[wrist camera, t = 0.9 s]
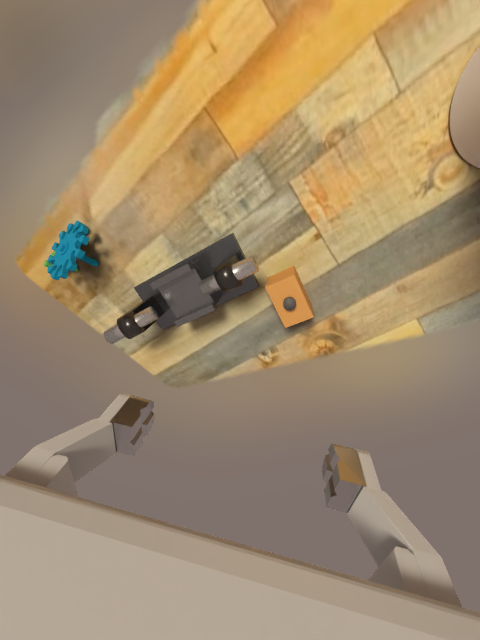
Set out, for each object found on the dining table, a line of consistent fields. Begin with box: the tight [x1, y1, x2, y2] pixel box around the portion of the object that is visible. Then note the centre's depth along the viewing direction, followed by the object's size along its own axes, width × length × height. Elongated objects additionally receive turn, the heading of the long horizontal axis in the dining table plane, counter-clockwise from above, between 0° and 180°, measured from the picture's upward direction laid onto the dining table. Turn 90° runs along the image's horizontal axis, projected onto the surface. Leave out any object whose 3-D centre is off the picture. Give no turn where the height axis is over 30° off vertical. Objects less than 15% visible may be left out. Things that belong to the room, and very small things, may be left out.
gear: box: [44, 221, 99, 280], centre depth 43 cm, size 11×6×10 cm
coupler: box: [265, 266, 314, 328], centre depth 38 cm, size 7×4×6 cm, turn 28°
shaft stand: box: [104, 233, 259, 344], centre depth 39 cm, size 25×9×11 cm, turn 118°
